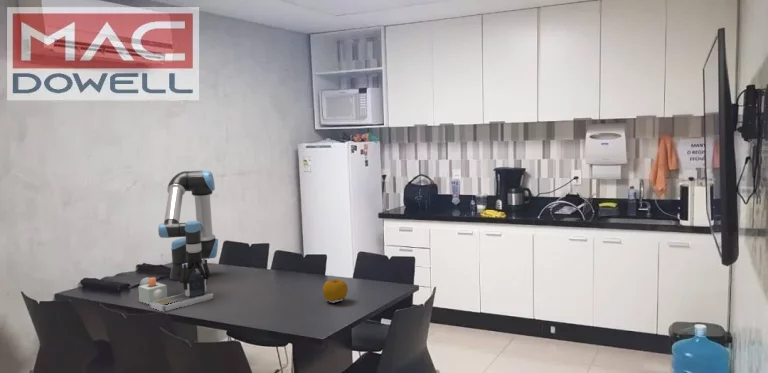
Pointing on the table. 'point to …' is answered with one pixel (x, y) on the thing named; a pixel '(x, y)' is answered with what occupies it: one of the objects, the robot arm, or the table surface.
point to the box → (196, 285)
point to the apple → (335, 290)
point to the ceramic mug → (144, 281)
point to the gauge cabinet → (152, 293)
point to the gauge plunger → (152, 282)
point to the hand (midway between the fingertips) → (196, 293)
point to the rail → (161, 307)
